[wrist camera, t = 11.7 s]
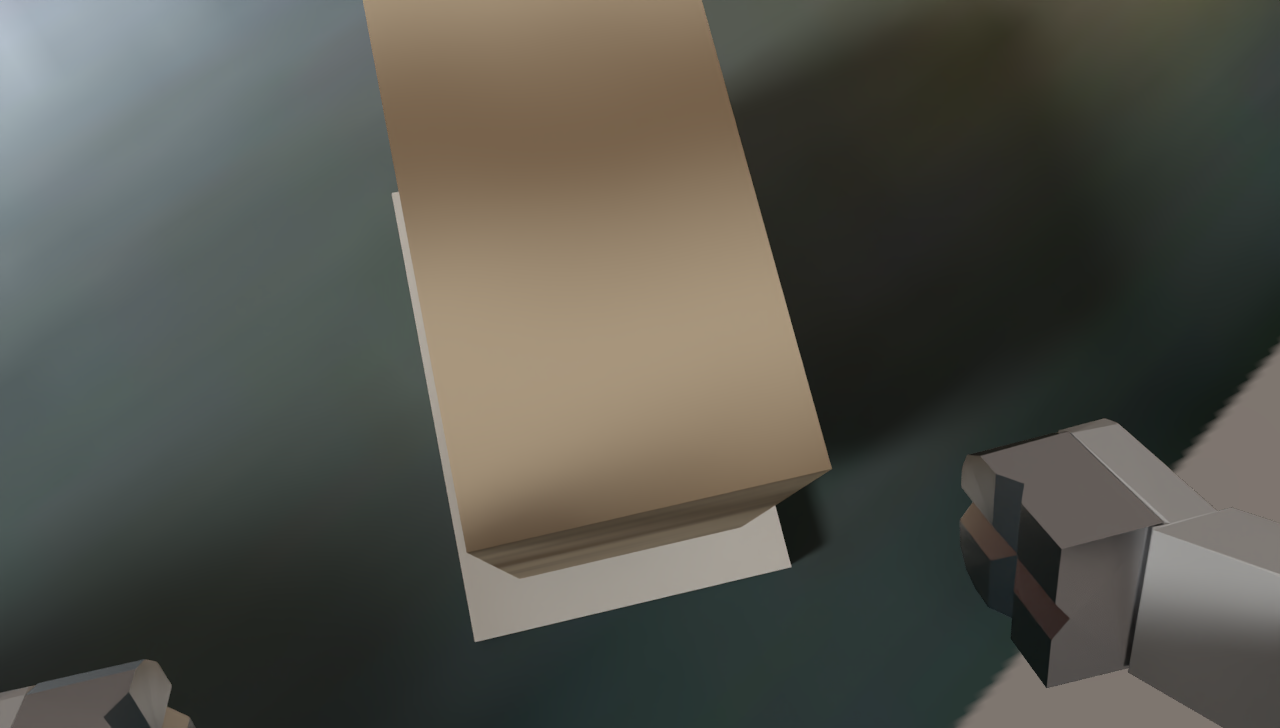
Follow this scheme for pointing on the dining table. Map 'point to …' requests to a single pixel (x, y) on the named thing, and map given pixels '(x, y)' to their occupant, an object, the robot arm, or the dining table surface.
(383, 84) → the tan wooden block
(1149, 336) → the dining table surface
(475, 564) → the peg stand
